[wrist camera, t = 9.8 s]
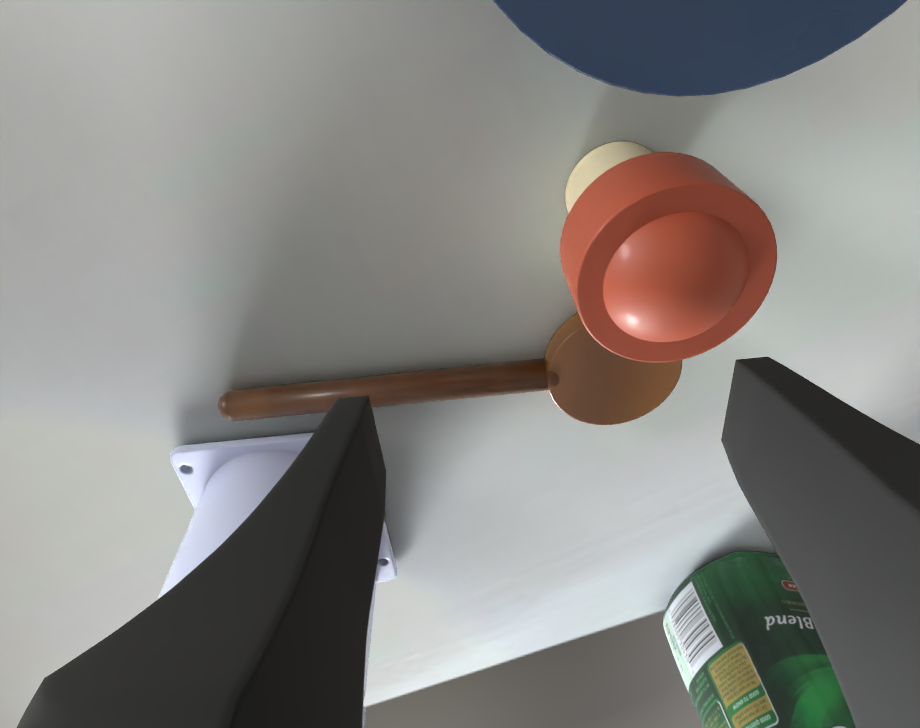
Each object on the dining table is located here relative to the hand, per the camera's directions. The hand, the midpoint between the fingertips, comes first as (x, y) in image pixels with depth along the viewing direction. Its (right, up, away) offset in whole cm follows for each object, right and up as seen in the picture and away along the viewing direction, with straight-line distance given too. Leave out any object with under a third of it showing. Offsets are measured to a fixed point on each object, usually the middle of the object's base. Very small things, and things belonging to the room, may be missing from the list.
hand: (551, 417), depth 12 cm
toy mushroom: (+3, +7, +8) cm, 11 cm away
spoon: (-2, +1, +12) cm, 12 cm away
